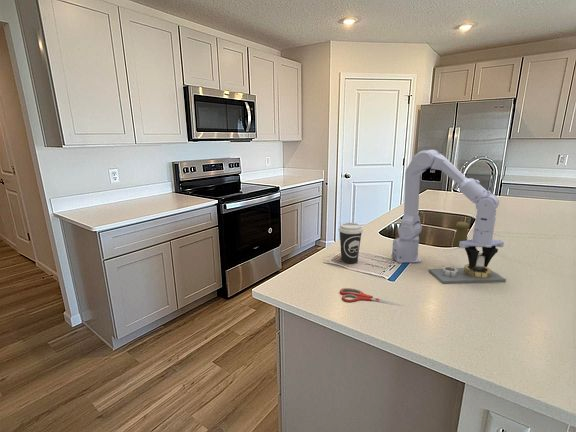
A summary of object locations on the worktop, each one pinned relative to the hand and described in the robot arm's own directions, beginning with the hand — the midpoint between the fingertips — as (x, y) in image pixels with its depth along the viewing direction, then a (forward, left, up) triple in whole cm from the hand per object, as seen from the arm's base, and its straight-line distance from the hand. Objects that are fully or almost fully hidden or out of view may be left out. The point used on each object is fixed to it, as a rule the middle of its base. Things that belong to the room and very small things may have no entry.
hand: (477, 266), depth 110 cm
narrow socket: (-10, 0, -4) cm, 11 cm away
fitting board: (-4, 0, -4) cm, 6 cm away
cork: (+12, +31, -4) cm, 33 cm away
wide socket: (0, 0, -4) cm, 4 cm away
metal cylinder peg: (0, 0, -2) cm, 2 cm away
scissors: (-41, -13, -5) cm, 44 cm away
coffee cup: (-42, +17, -4) cm, 45 cm away
